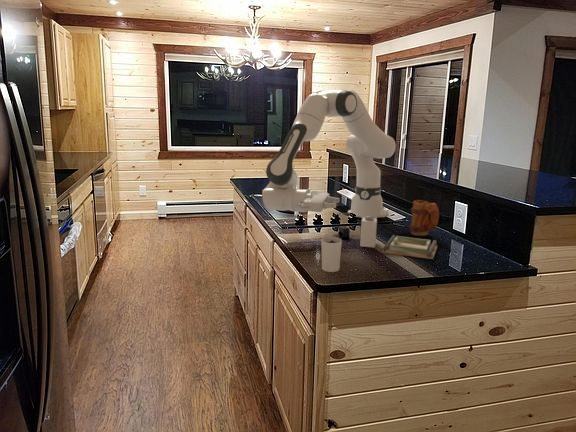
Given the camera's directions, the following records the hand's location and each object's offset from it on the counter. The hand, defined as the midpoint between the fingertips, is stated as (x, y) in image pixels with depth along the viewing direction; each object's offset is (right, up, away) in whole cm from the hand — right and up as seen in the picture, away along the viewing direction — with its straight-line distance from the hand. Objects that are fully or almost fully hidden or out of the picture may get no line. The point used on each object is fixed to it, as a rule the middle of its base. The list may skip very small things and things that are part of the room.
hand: (337, 203), depth 179 cm
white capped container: (+12, -16, +1) cm, 20 cm away
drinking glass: (-5, -23, -24) cm, 34 cm away
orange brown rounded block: (+36, -14, +12) cm, 41 cm away
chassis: (+27, -18, -5) cm, 32 cm away
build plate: (+4, -14, +11) cm, 19 cm away
